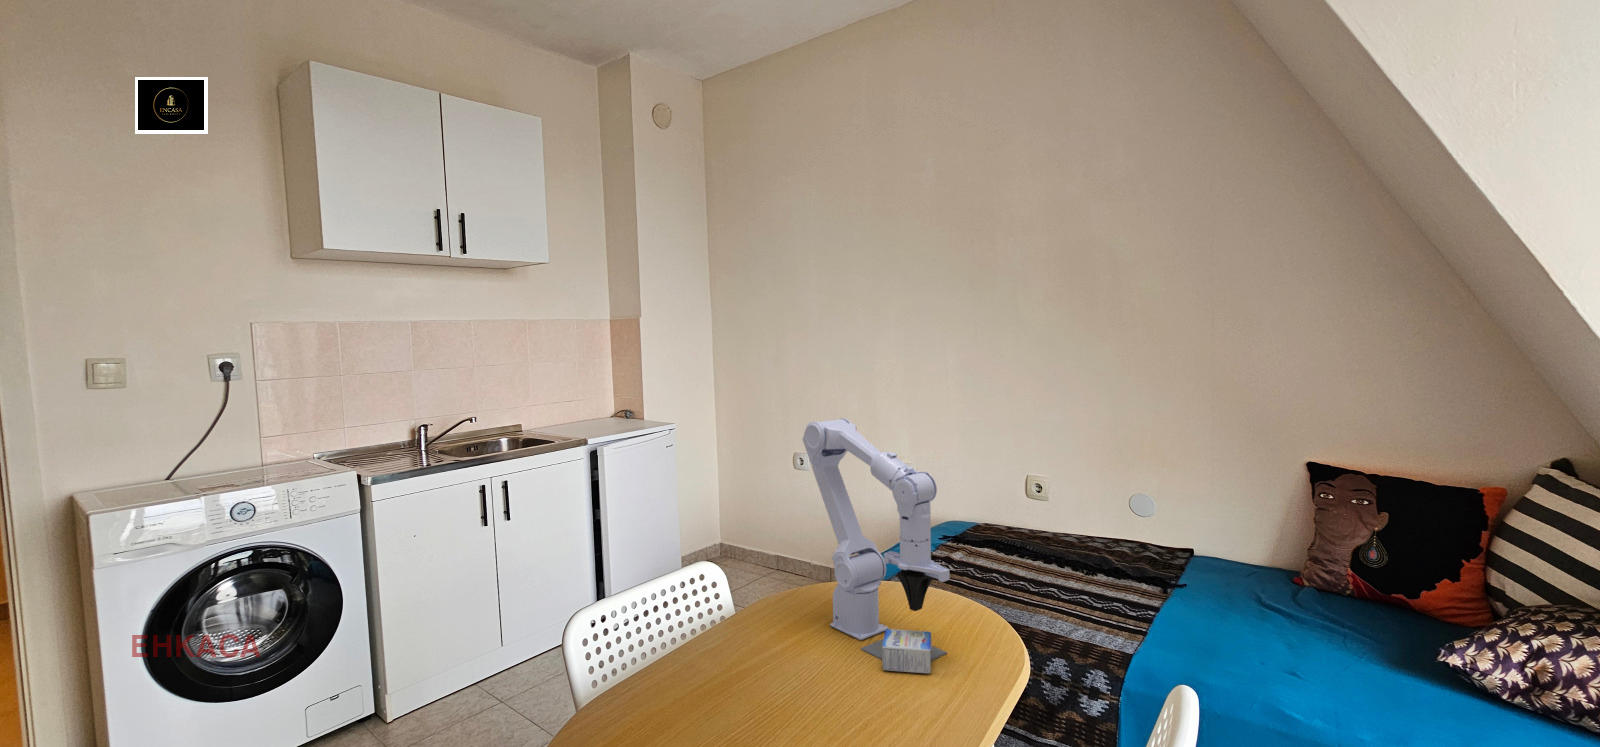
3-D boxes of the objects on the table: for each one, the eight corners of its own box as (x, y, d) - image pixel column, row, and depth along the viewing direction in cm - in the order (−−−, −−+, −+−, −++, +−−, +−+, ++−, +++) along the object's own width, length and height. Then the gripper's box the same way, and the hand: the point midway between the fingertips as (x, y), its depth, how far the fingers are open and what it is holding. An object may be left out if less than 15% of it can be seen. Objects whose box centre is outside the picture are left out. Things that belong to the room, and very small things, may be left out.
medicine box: (931, 650, 120) (881, 646, 121) (931, 674, 120) (881, 670, 121) (931, 631, 127) (885, 627, 129) (931, 654, 127) (885, 650, 129)
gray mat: (860, 649, 131) (860, 648, 131) (899, 633, 137) (899, 631, 137) (907, 672, 121) (907, 670, 121) (946, 653, 128) (946, 652, 128)
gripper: (872, 533, 130) (873, 603, 131) (931, 551, 119) (932, 626, 120) (897, 526, 135) (898, 594, 135) (956, 542, 123) (957, 616, 124)
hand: (916, 608), depth 128 cm, fingers closed
